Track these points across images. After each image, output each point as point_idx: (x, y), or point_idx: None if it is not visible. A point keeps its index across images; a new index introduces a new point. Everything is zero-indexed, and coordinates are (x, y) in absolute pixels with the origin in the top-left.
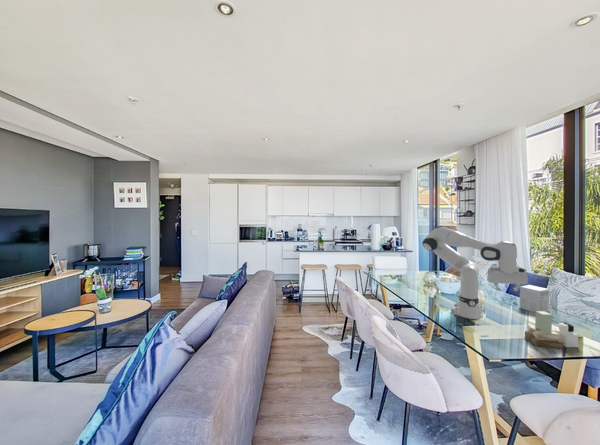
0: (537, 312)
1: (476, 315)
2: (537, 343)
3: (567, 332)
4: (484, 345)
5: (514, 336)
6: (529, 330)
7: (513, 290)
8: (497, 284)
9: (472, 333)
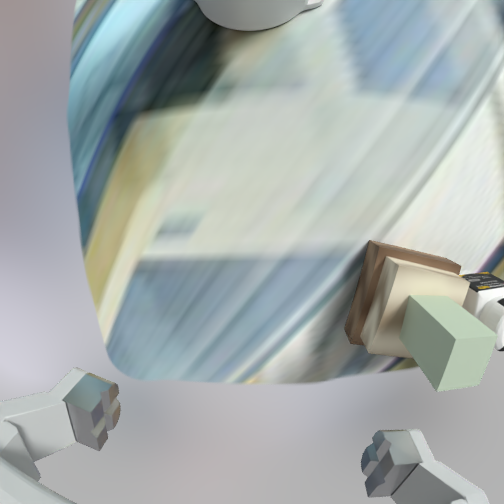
0: (449, 351)
1: (265, 16)
2: (348, 334)
3: None
4: (131, 313)
5: (326, 231)
6: (386, 273)
7: (377, 432)
8: (31, 476)
9: (135, 204)
